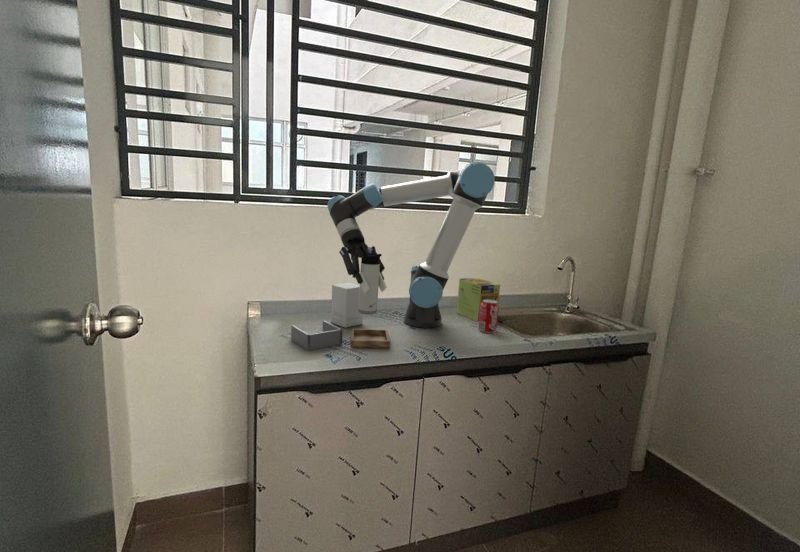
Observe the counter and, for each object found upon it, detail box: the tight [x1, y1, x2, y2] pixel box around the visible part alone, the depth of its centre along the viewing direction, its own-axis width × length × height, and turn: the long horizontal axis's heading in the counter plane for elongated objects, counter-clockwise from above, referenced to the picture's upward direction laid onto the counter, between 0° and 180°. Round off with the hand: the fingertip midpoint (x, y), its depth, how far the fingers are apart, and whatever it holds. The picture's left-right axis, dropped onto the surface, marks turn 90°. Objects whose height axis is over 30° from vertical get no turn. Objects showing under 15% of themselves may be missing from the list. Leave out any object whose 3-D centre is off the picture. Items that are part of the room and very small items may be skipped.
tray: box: [350, 328, 391, 350], centre depth 150 cm, size 13×13×2 cm
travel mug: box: [358, 253, 382, 315], centre depth 147 cm, size 6×7×20 cm
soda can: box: [478, 299, 500, 334], centre depth 170 cm, size 7×7×12 cm
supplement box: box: [330, 282, 364, 328], centre depth 169 cm, size 9×9×15 cm
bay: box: [290, 320, 343, 351], centre depth 147 cm, size 12×13×5 cm
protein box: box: [456, 277, 501, 323], centre depth 191 cm, size 10×15×16 cm
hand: (375, 290), depth 145 cm, fingers closed on travel mug, 6 cm apart
